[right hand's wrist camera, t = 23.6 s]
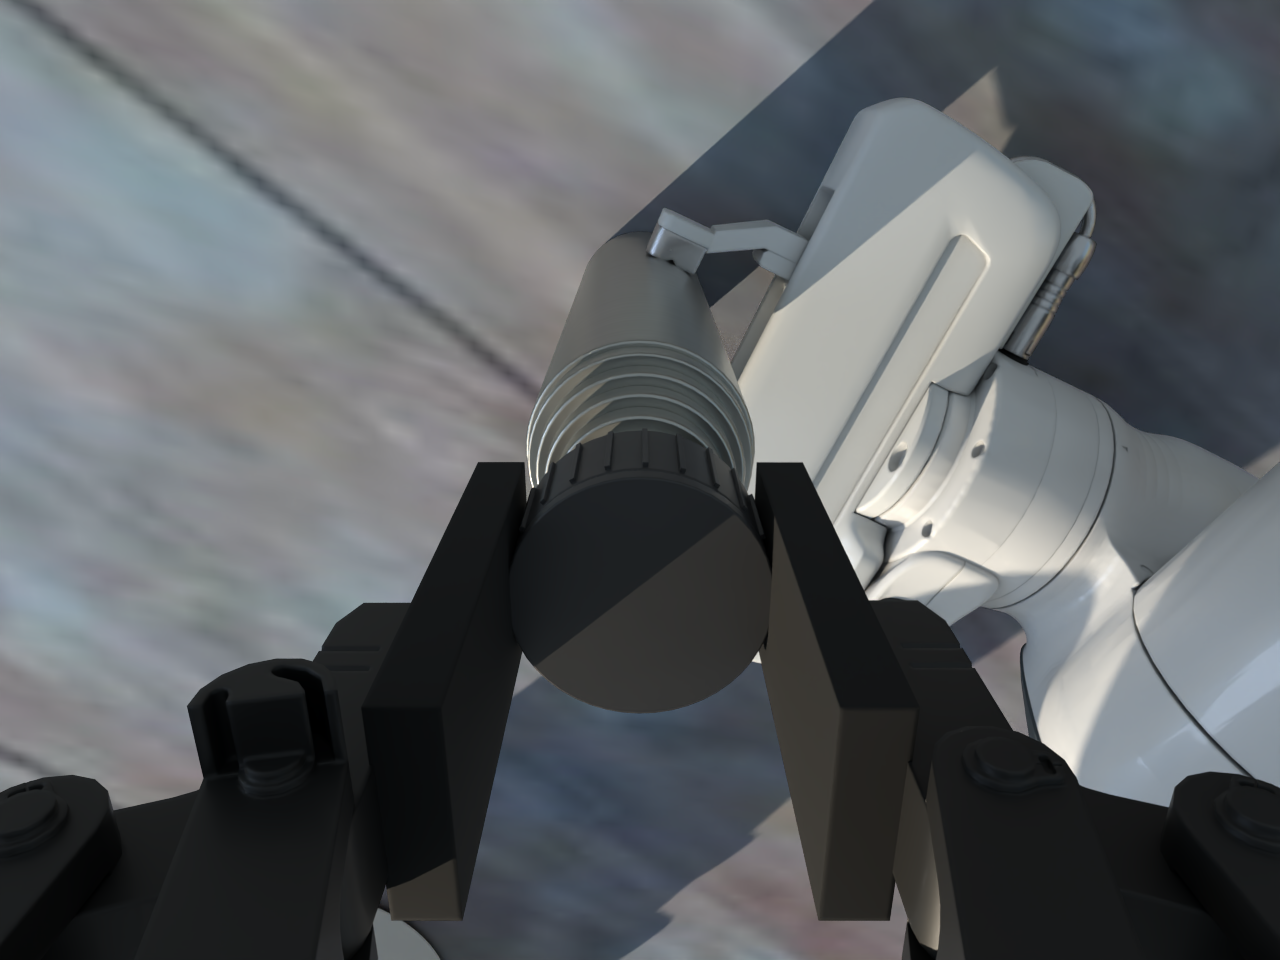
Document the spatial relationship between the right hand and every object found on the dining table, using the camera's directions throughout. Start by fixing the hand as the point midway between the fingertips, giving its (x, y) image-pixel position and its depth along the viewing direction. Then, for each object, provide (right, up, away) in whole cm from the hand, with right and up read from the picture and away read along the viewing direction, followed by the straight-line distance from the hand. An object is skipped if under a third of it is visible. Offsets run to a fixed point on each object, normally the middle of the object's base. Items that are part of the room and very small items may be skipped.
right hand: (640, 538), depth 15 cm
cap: (0, -1, -2) cm, 2 cm away
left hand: (-1, +7, +16) cm, 17 cm away
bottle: (0, +9, +22) cm, 24 cm away
